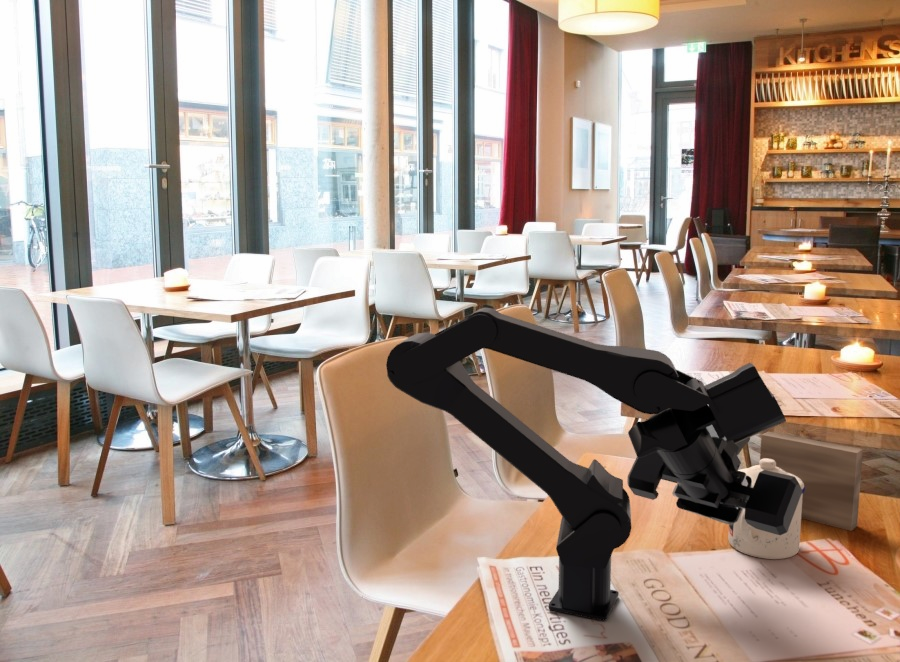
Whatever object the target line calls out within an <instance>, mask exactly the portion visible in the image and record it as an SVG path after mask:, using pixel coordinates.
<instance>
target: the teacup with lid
mask: <svg viewBox="0 0 900 662" xmlns="http://www.w3.org/2000/svg"><path fill="white" fill-rule="evenodd" d="M763 470H767V471H772V472H776V473H780V474H785V475H789V476H794V477H795V478H796V479H797V481H798V483H799V484H800V487H801V489H802V494H801V497H800V499H799V502H798V505H797V507H796V510H795V513H794V515H793V518H792V521H791V523H790V526H789V529H788V531H787V533H784V534H782V535H777V534H773V533H770V532H766V531H762V530H759V529H756V528H754V527H752V526H751V525H749V524H747V522H746V520H745V509H742V511H741V513H740V516H739V518H738V521H737V522H735V523H733V525H729V524H728V537H727V538H728V543H729V544H730V545H731V547H733V548H734V550H736V551H738V552H740V553H742V554H745V555H748V556H751V557H755V558H760V559H765V560H766V559H768V560H782V559H784V560H785V559H788V558H791V557H794V556H796V555H797V553H798V552H799V551H800V546H801V545H800V543H801V542H800V540H801V527H802V525H801V524H802V518H801V513H802V497H803V493H804V491H805V486H804V483H803V482H802V480H801V479H800V478H798V477H797V476H795V475H793V474H790V473H787V472H785V471H784V470H783V469H781V468H779V467H776V462H775V461H774V460H773V459H768V458H763V459H761V460H760V459H759V463H758V464H757V465H752V466H750V467H746V468H740V469H738V471H741V472H745V473H746V476H749V477H751V479H752V486H751V488H753V487H754V484H755V482H756V479H757V477H758V474H759V472H761V471H763Z"/></svg>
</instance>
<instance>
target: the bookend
mask: <svg viewBox="0 0 900 662" xmlns="http://www.w3.org/2000/svg"><path fill="white" fill-rule="evenodd" d="M760 436H761V439H760V452H759V453H760V454H759V461H760V460H761V459H763V458H768V459H773V460H774V461H775V462H776V467H779V468H781V469H783V470H784V471H785V472H787V473H790V474H793V475H795V476H797V477H798V478H800V479H801V480H802V482H803V483H804V486H805V491H804V493H803V497H802V513H801V519H803V520H806V521H811V522H814V523H818V524H822V525H827V526H830V527H834V528H837V529H843V530H846V531H850V532H852V531H853V530H854V529H856V528H857V527H858V521H859V520H858V519H859V504H860V495H861V493H860V492H861V491H860V490H861V480H862V479H861V477H862V465H863V453H864V452H863V451H864V449H863V448H859V447H853V446H849V445H848V446H847V445H841V444H838V443H832V442H826V441H821V440H816V439H810V438H806V437H805V438H804V437H801V436H795V435H789V434H783V433H779V432H774V431H773V432H772V431H766V432H764V433H762V434H761V435H760Z"/></svg>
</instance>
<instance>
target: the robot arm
mask: <svg viewBox="0 0 900 662" xmlns="http://www.w3.org/2000/svg"><path fill="white" fill-rule="evenodd" d="M482 349H484V350H485V349H487V350H491V351H494V352H495V353H500V354H502V355H504V356H505V355H506V356H509V357H511V358H514V359H518V360H522V361H524V362H527V363H530V364H533V365H535V366H536V365H537V366H539V367H543V368H546V369H547V370H552V371H554V372H558V373H560V374H564V375H566V376H570V377H573V378H576V379H580V380H582V381H585V382H587V383H589V384H590V385H592V386H595V387H596V388H598V389H599V390H601V391H602V392H604V393H605V394H606V395H609V396H610V397H611V398H613V399H614V400H617V401H618V402H620V403H622V404H624V405H626V406H628V407H630V408H631V409H633V410H635V411H637V412H640V413H642V414H647V415H651V416H650V417H649V418H647V419H646V420H644V421H637V422H635V425H633V426H632V427H631V428H630V429H629V430H628V432H627V434H628V437H629V439H630V442H631V445H632V447H633V450H634V452H635V455H636V459H635V460H634V462H633V464H632V466H631V468H630V471H629V472H628V474H627V479H626V480H627V486H628V488H629V489H630V491H631V492H632V493H633V495H634V496H638V497H641V498H646V499H647V500H648V499H649V500H652V501H654V500H657V498H658V497H659V492H658V491H657V489H658V487H659V485H660V483H661V480H663V481H666V482H667V481H668V482H670V483H675V484H676V485H675V486H674V488H673V491H672V492H671V493H672V496H673V497H675V498H677V500H676V503H675V504H676V507H677V508H678V509H680V510H684V511H685V512H690V513H692V514H696V515H698V516H701V517H704V518H708V519H710V520H714V521H717V522H719V523H722V524H725V525H728V526H729V525H733V523H735V522H737V521H738V518H739V516H740V513H741V511H742V509H745V520H746V522H747V524H749V525H751V526H752V527H754V528H756V529H759V530H762V531H766V532H770V533H773V534H777V535H782V534H784V533H787V531H788V529H789V526H790V523H791V521H792V518H793V515H794V513H795V510H796V507H797V505H798V502H799V499H800V497H801V494H802V489H801V487H800V484H799V483H798V481H797V479H796V478H795V477H794V476H789V475H785V474H780V473H776V472H772V471H767V470H763V471H761V472H759V474H758V477H757V479H756V482H755V484H754V487H753V488H751V486H752V479H751V477H749V476H746V473H745V472H741V471H738V470H740V469H739V468H740V467H741V464H742V462H741V460H740V458H739V454H740V452H742V450H743V449H744V447H745V445H746V444H748V443H749V442H750V440H751V437H753V436H754V437H755V436H756V435H758V434H760V433H763V432H765V431H767V430H769V429H772V428H775V427H777V426H780V425H781V424H784V423H786V422H787V419H786V416H785V415H784V412H783V411H782V409H781V406H780V404H779V402H778V401H777V398H776V397H775V395H774V394H773V393H772V392H771V391H770V389H769V388H768V387H767V385H766V384H765V382H764V379H763V378H762V376H761V375H760V374H759V372H758V369H757V368H756V367H755V365H754V364H753V363H752V362H748V363H747V364H744V365H742V366H740V367H738V368H737V369H736V370H734V371H733V372H731V373H729V374H727V375H725V376H723V377H720V378H718V379H717V380H714V381H712V382H710V383H708V384H705V385H704V382H703V381H702V380H700V379H697V377H693V376H691V375H689V374H687V373H685V372H682V371H680V370H678V369H677V368H676V366H675V365H674V363H673V361H672V360H671V359H670V358H669V356H667V355H666V354H665V353H663V352H661V351H658V350H654V349H649V348H640V347H633V346H623V345H620V346H619V345H605V344H599V343H594V342H590V341H589V340H585V339H581V338H579V337H576V336H572V335H569V334H566V333H564V332H560V331H557V330H553V329H550V328H548V327H544V326H542V325H538V324H534V323H532V322H528V321H525V320H522V319H520V318H515V317H513V316H510V315H507V314H504V313H501V312H499V311H497V309H494V308H492V307H491V308H490V307H481V308H479V309H477V310H476V311H474V312H473V313H471V314H470V315H469V316H468V317H466V318H463V319H462V320H460V321H458V322H456V323H454V324H452V325H450V326H448V327H446V328H444V329H442V330H440V331H439V332H436V333H435V334H434V333H430V332H419V333H415V334H413V335H411V336H409V337H408V338H407V339H404V340H403V341H401V342H399V343H398V344H396V345H395V346H394V347H393V348H392V349H391V350H390V352H389V354H388V356H387V359H386V364H385V365H386V366H385V367H386V375H387V378H388V381H389V382H390V383H391V384H392V385H393V387H394V388H397V389H398V390H399V391H401V392H402V393H404V394H405V395H408V396H409V397H411V398H412V399H414V400H416V401H418V402H419V403H422V404H424V405H426V406H430V407H432V408H435V409H438V410H440V411H444V412H446V413H447V414H449V415H451V417H453V418H454V419H455V420H457V421H458V422H459V423H460V424H461V425H463V426H464V427H465V428H466V429H467V430H469V431H471V433H472V434H474V435H475V436H476V437H477V438H479V439H480V440H481V441H483V443H485V444H486V445H487V446H489V448H491V449H492V450H493V451H494V452H495V453H497V454H498V455H500V456H501V457H502V459H504V460H505V461H507V462H508V463H509V464H510V465H511V466H513V467H514V468H515V469H516V470H517V471H519V472H520V473H521V474H523V476H524V477H526V478H528V479H529V481H531V482H532V483H533V484H534V485H535V486H537V487H538V488H540V489H541V490H542V491H543V492H544V493H545V494H546V495H547V496H548V497H549V498H550V500H551V501H552V502H553V504H554V506H555V507H556V509H557V511H558V512H559V514H560V515H561V519H560V525H559V530H558V537H557V542H556V547H555V550H556V552H557V555H558V589H557V590H556V592H555V594H554V595H553V597H552V598H551V599H550V601H549V603H548V609H549V610H550V611H553V612H559V613H563V614H569V615H573V616H577V617H578V616H579V617H583V618H588V619H594V620H599V621H607V620H608V618H609V616H610V615H611V613H612V611H613V609H614V607H615V604H616V602H617V601H618V599H619V596H620V595H619V591H617V590H615V589H611V585H612V582H611V580H612V578H611V577H612V576H611V574H612V573H611V572H612V554H613V552H614V550H615V549H618V548H620V547H621V546H622V545H623V544H625V543H626V542H627V540H628V539H629V537H630V536H631V535H630V534H631V532H632V531H631V530H632V512H631V499H630V496H629V494H628V492H627V491H626V489H624V480H623V479H622V478H619V477H616V476H614V475H613V474H612V473H610V472H609V471H608V470H606V469H605V467H604V466H603V465H602V464H601V462H600V461H598V460H597V459H592V462H591V463H590V465H589V466H588V467H586V466H583V465H580V464H577V463H575V462H573V461H571V460H569V459H568V458H567V457H566V456H564V454H562V453H561V452H560V451H558V450H557V449H556V448H555V447H553V446H552V445H551V444H550V443H549V442H547V441H546V440H545V439H544V438H542V437H541V436H540V435H539V434H537V433H536V432H535V431H534V430H533V429H531V428H530V427H529V426H527V424H525V423H524V422H523V421H521V420H520V418H518V417H516V416H515V415H514V414H513V413H512V412H510V410H508V408H506V407H505V406H503V404H501V403H500V402H499V401H497V400H496V399H495V398H494V397H493V396H491V395H490V394H489V393H487V392H486V391H485V390H484V389H483V388H481V387H480V386H479V385H477V384H476V382H475V381H474V380H473V378H472V377H471V375H469V373H468V371H467V370H466V368H465V367H464V365H463V363H462V362H461V361H462V360H464V359H466V358H467V357H469V356H471V355H473V354H474V353H477V352H478V351H481V350H482Z"/></svg>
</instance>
